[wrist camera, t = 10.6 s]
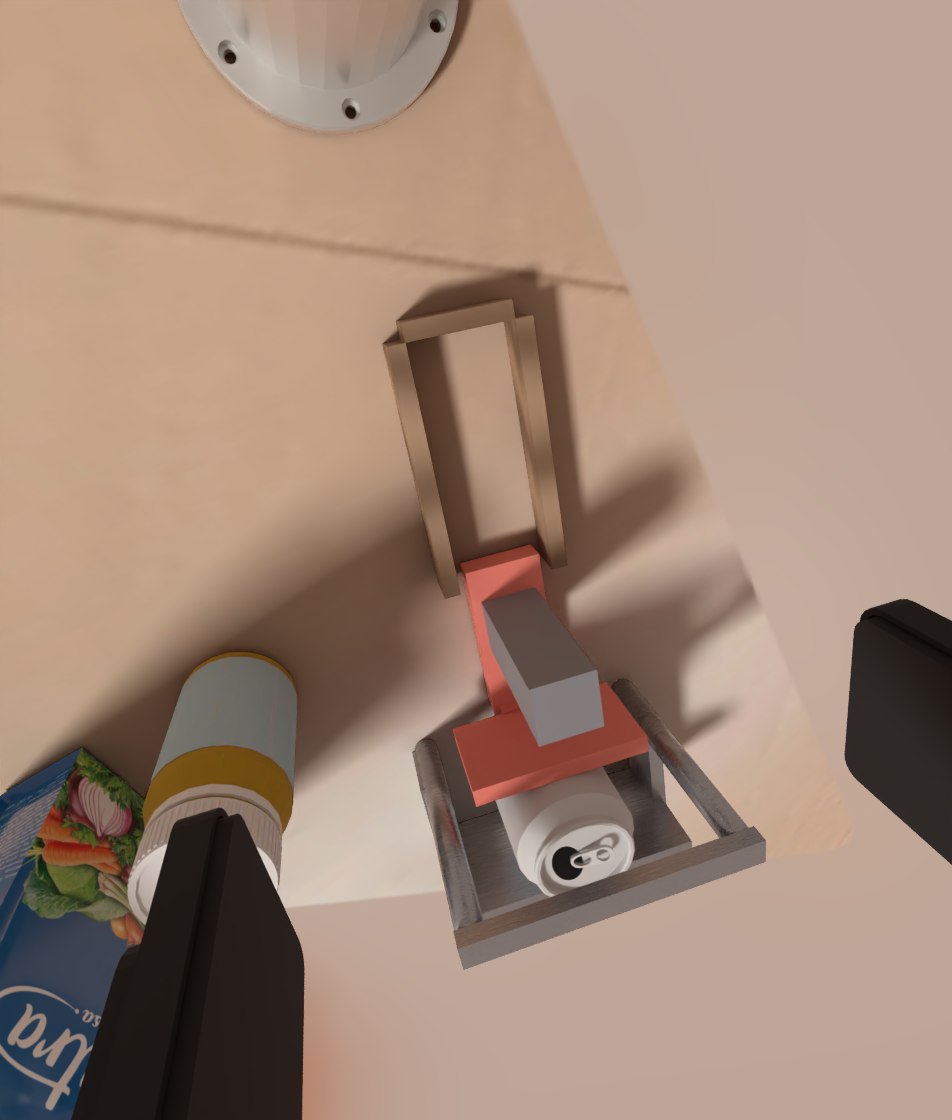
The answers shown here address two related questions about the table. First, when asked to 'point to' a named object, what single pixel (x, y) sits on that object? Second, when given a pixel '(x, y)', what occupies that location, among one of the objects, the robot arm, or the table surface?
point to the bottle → (222, 762)
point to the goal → (655, 873)
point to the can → (569, 831)
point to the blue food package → (61, 926)
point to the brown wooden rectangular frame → (530, 418)
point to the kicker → (534, 688)
